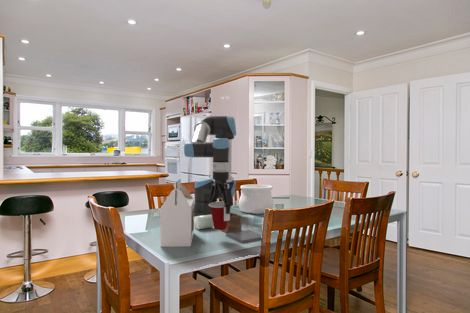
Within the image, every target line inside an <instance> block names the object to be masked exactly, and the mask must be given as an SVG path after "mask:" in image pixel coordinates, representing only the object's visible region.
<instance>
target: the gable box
mask: <svg viewBox="0 0 470 313" xmlns="http://www.w3.org/2000/svg"><path fill="white" fill-rule="evenodd" d="M172 187H173V190H171V192H170V193H169V194H168V196H167V198H165V200H164V202H163V204H162V205H161V206H160V247H161V248H169V247H172V248H174V247H175V248H176V247H181V248H182V247H184V248H185V247H191V246H192V244H193V239H194V234H195V227H194V217H195V216H194V203H195V198H193V196H192V195H191V193H190V191H189V190H188V189H187V187H186V185H184V184H182V179H181V178H179V180H177V181H176V182H174V183H173V184H172Z"/></svg>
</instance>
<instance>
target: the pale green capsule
mask: <svg viewBox="0 0 470 313" xmlns="http://www.w3.org/2000/svg"><path fill="white" fill-rule="evenodd" d="M210 228H214V225H213V219H212V215H203V216H194V230H205V229H210Z"/></svg>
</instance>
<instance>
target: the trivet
mask: <svg viewBox="0 0 470 313" xmlns="http://www.w3.org/2000/svg"><path fill="white" fill-rule="evenodd" d="M225 236H226V237H228V238H230V239H232V240H235V241H237V242H238V243H241V244H244V243H249V242H255V241H260V240H262V239H261V233H259V232H256V231H254V230H252V229H245V230H242V231H237V232H231V233H226V232H225Z"/></svg>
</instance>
